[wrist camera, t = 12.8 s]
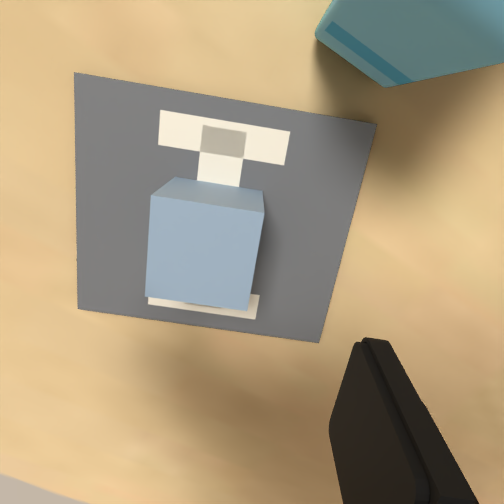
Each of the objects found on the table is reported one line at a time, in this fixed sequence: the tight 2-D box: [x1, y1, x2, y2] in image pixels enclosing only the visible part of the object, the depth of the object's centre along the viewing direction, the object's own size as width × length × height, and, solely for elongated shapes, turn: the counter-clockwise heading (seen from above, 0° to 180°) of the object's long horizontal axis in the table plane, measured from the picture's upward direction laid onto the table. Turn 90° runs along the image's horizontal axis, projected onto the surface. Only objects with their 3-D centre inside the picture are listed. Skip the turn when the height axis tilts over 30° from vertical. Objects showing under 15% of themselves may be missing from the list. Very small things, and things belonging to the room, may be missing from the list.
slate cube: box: [145, 177, 264, 311], centre depth 19 cm, size 5×5×5 cm
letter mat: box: [74, 72, 377, 343], centre depth 22 cm, size 16×14×1 cm
